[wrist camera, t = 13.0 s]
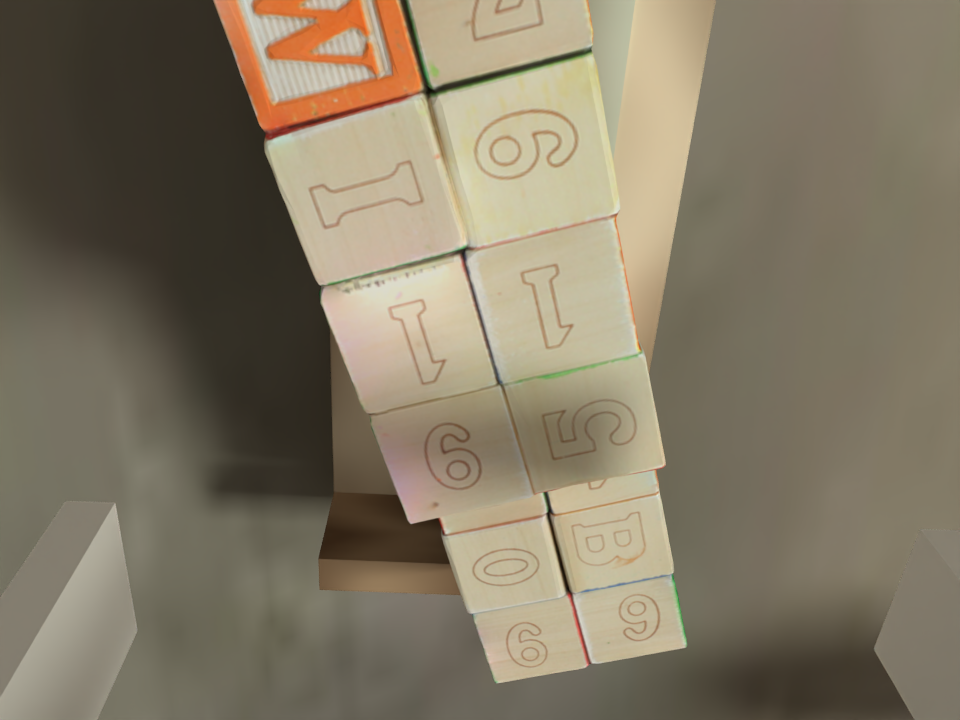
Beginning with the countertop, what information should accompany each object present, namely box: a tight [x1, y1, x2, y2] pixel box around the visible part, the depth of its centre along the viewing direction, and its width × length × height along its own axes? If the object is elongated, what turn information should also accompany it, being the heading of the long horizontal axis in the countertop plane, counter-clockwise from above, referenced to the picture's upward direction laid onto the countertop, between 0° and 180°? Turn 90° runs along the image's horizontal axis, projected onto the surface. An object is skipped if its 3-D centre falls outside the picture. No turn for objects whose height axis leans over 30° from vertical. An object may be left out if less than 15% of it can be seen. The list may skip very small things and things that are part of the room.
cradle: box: [319, 0, 716, 595], centre depth 28 cm, size 12×26×6 cm, turn 176°
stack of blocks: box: [213, 0, 687, 683], centre depth 23 cm, size 21×6×12 cm, turn 14°
